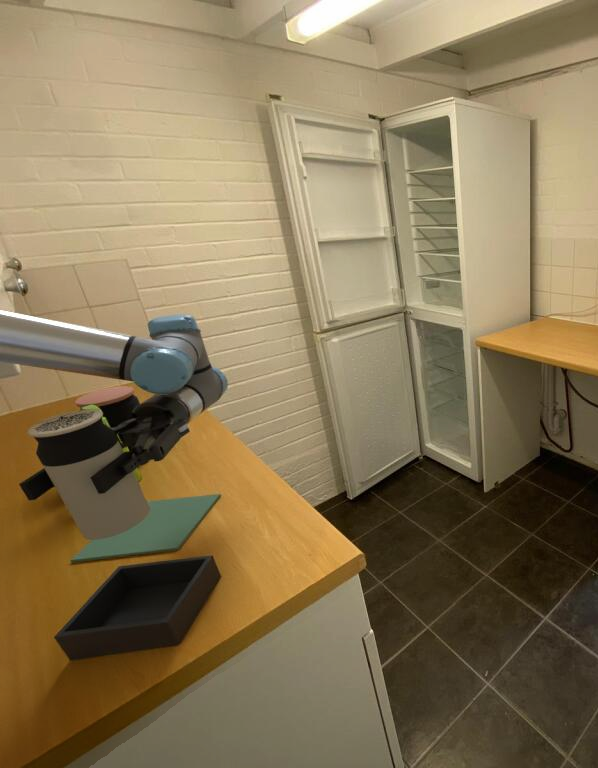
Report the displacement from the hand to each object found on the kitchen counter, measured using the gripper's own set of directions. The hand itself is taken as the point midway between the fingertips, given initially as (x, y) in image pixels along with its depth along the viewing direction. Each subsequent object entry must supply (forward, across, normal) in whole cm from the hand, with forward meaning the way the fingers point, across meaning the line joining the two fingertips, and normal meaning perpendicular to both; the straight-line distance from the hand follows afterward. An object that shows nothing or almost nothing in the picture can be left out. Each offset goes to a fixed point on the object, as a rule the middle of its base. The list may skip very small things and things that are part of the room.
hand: (62, 488), depth 56 cm
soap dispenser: (-38, +26, -24) cm, 52 cm away
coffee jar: (-50, +32, -24) cm, 64 cm away
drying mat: (-21, +10, -24) cm, 33 cm away
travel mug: (-5, 0, -10) cm, 11 cm away
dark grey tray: (+1, -4, -24) cm, 24 cm away
